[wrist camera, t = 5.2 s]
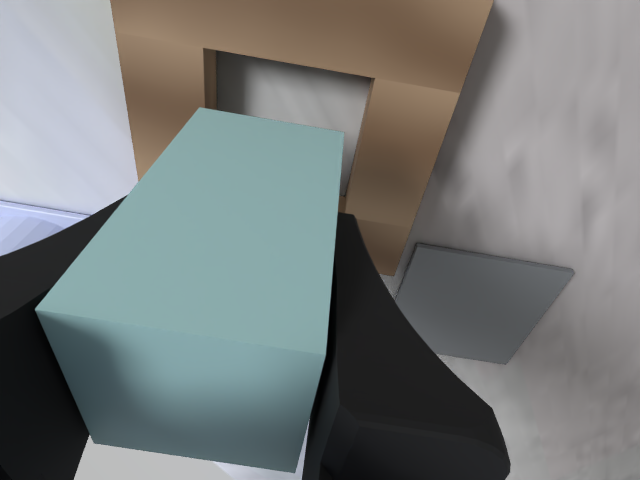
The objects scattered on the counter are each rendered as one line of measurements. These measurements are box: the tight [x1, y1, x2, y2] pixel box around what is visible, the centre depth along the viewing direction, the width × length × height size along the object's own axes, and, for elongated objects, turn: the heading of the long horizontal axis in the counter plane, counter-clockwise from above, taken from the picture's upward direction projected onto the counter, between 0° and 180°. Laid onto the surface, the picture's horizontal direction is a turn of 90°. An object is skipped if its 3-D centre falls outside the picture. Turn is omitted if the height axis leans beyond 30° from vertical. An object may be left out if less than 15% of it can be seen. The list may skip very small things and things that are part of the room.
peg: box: [35, 107, 344, 473], centre depth 11 cm, size 4×4×8 cm
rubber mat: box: [395, 243, 574, 365], centre depth 23 cm, size 8×8×1 cm
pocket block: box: [110, 0, 494, 276], centre depth 17 cm, size 12×12×2 cm
